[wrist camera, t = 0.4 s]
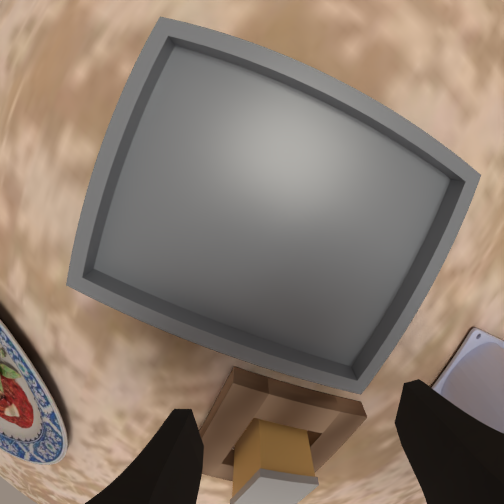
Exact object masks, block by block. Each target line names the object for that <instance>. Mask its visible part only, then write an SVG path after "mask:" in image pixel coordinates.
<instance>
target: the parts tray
mask: <svg viewBox="0 0 504 504" xmlns="http://www.w3.org/2000/svg"><path fill="white" fill-rule="evenodd" d="M480 177H481V175H480V174H479V173H478V172H477V171H476V170H474V169H473V168H472V167H471V166H470V165H468V164H467V163H466V162H465V161H463V160H462V159H461V158H460V157H458V156H457V155H456V154H455V153H453V152H452V151H451V150H449V149H448V148H447V147H445V146H444V145H443V144H441V143H440V142H439V141H437V140H436V139H434V138H433V137H432V136H430V135H429V134H427V133H426V132H425V131H423V130H422V129H420V128H419V127H417V126H416V125H414V124H413V123H411V122H410V121H408V120H407V119H405V118H404V117H402V116H401V115H399V114H397V113H396V112H394V111H393V110H391V109H389V108H388V107H386V106H384V105H383V104H381V103H379V102H378V101H376V100H374V99H372V98H371V97H369V96H367V95H365V94H364V93H362V92H360V91H358V90H356V89H355V88H353V87H351V86H349V85H347V84H345V83H343V82H341V81H339V80H337V79H335V78H333V77H331V76H329V75H327V74H325V73H323V72H321V71H319V70H317V69H315V68H313V67H310V66H308V65H306V64H304V63H302V62H299V61H297V60H295V59H292V58H290V57H288V56H285V55H283V54H280V53H278V52H275V51H273V50H270V49H268V48H265V47H262V46H260V45H257V44H254V43H251V42H249V41H246V40H243V39H240V38H237V37H234V36H231V35H228V34H225V33H221V32H218V31H215V30H211V29H208V28H204V27H201V26H197V25H193V24H189V23H185V22H181V21H177V20H173V19H168V18H164V17H160V18H159V20H158V21H157V23H156V25H155V27H154V28H153V30H152V32H151V34H150V36H149V38H148V40H147V41H146V43H145V45H144V47H143V49H142V51H141V53H140V55H139V57H138V59H137V61H136V63H135V65H134V67H133V69H132V72H131V74H130V76H129V78H128V80H127V82H126V85H125V87H124V89H123V91H122V94H121V96H120V98H119V101H118V103H117V106H116V108H115V110H114V113H113V116H112V118H111V121H110V123H109V126H108V128H107V131H106V134H105V137H104V139H103V142H102V145H101V148H100V151H99V154H98V157H97V160H96V163H95V166H94V169H93V172H92V176H91V179H90V182H89V186H88V189H87V193H86V196H85V200H84V204H83V207H82V211H81V215H80V219H79V223H78V228H77V232H76V236H75V241H74V245H73V250H72V255H71V260H70V266H69V271H68V277H67V283H66V285H67V286H69V287H71V288H73V289H75V290H77V291H79V292H81V293H83V294H85V295H87V296H89V297H91V298H93V299H95V300H97V301H99V302H101V303H103V304H105V305H107V306H109V307H111V308H114V309H116V310H118V311H120V312H122V313H124V314H127V315H129V316H131V317H133V318H136V319H138V320H140V321H142V322H145V323H147V324H149V325H152V326H154V327H156V328H159V329H161V330H163V331H166V332H168V333H171V334H173V335H176V336H178V337H181V338H183V339H186V340H188V341H191V342H193V343H196V344H199V345H201V346H204V347H207V348H209V349H212V350H215V351H217V352H220V353H223V354H226V355H228V356H231V357H234V358H237V359H240V360H243V361H246V362H249V363H252V364H255V365H258V366H261V367H264V368H267V369H270V370H273V371H277V372H280V373H283V374H286V375H290V376H293V377H297V378H300V379H303V380H307V381H311V382H314V383H318V384H321V385H325V386H329V387H333V388H337V389H341V390H345V391H349V392H353V393H357V394H362V393H363V391H364V390H365V389H366V387H367V386H368V385H369V383H370V382H371V381H372V379H373V378H374V376H375V375H376V374H377V372H378V371H379V370H380V368H381V367H382V365H383V364H384V362H385V361H386V359H387V358H388V357H389V355H390V354H391V352H392V351H393V349H394V348H395V346H396V345H397V343H398V342H399V340H400V338H401V337H402V335H403V334H404V332H405V331H406V329H407V327H408V326H409V324H410V323H411V321H412V319H413V318H414V316H415V314H416V313H417V311H418V309H419V307H420V306H421V304H422V302H423V301H424V299H425V297H426V295H427V293H428V292H429V290H430V288H431V286H432V284H433V282H434V281H435V279H436V277H437V275H438V273H439V271H440V269H441V267H442V265H443V263H444V261H445V259H446V257H447V255H448V253H449V251H450V249H451V247H452V245H453V243H454V240H455V238H456V236H457V234H458V232H459V229H460V227H461V225H462V222H463V220H464V218H465V215H466V213H467V211H468V208H469V206H470V203H471V201H472V198H473V196H474V193H475V190H476V188H477V185H478V182H479V180H480Z"/></svg>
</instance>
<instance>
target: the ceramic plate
mask: <svg viewBox="0 0 504 504" xmlns="http://www.w3.org/2000/svg"><path fill="white" fill-rule="evenodd" d="M67 448H68V438H67V432H66V428H65V425H64V422H63V419H62V417H61V414H60V412H59V410H58V407H57V405H56V403H55V401H54V399H53V397H52V396H51V394H50V392H49V390H48V388H47V387H46V385H45V383H44V382H43V380H42V378H41V377H40V375H39V373H38V372H37V370H36V369H35V367H34V366H33V364H32V363H31V361H30V360H29V358H28V356H27V355H26V354H25V352H24V351H23V349H22V348H21V347H20V345H19V344H18V342H17V341H16V340H15V338H14V337H13V335H12V334H11V333H10V331H9V330H8V329H7V327H6V326H5V325H4V323H3V322H2V321H1V320H0V449H2V450H3V451H5V452H7V453H9V454H11V455H13V456H15V457H17V458H19V459H22V460H25V461H28V462H31V463H34V464H41V465H50V464H55V463H58V462H59V461H61V460H62V459H63V458H64V456H65V454H66V451H67Z"/></svg>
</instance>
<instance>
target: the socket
mask: <svg viewBox="0 0 504 504" xmlns="http://www.w3.org/2000/svg"><path fill="white" fill-rule="evenodd" d="M253 418H257V419H261V420H265V421H269V422H273V423H277V424H281V425H285V426H290V427H294V428H299V429H304V430H308V431H307V434H308V440H309V445H310V450H311V456H312V461H313V467H314V473H315V472H316V471H317V470H318V469H319V468H320V467H321V466H322V465H323V464H324V463H325V462H326V461H327V460H328V459H329V458H330V457H331V456H332V455H333V454H334V453H335V452H336V451H337V450H338V449H339V448H340V447H341V446H342V445H343V444H344V443H345V442H346V441H347V439H348V438H349V437H350V436H351V435H352V434H353V433H354V432H355V431H356V429H357V428H358V427H359V426H360V425H361V424H362V423H363V421H364V420H365V419H366V418H367V415H366V413H365V410H364V408H363V405H362V403H361V402H359V401H355V400H350V399H346V398H342V397H337V396H333V395H329V394H325V393H321V392H318V391H314V390H310V389H306V388H303V387H299V386H295V385H292V384H288V383H285V382H282V381H278V380H275V379H272V378H268V377H265V376H262V375H259V374H256V373H252V372H249V371H246V370H243V369H240V368H237V367H234V368H233V370H232V371H231V373H230V375H229V377H228V379H227V381H226V383H225V385H224V387H223V389H222V390H221V392H220V394H219V396H218V398H217V400H216V402H215V403H214V405H213V407H212V409H211V411H210V413H209V415H208V416H207V418H206V420H205V422H204V424H203V426H202V427H201V429H200V431H199V433H200V436H201V439H202V442H203V445H204V454H203V469H202V474H205V475H209V476H212V477H216V478H221V479H225V480H229V481H233V470H234V451H233V450H231V449H232V448H233V447H234V445H235V444H236V442H237V441H238V439H239V438H240V437H241V435H242V434H243V432H244V431H245V429H246V428H247V426H248V425H249V424H250V422H251V421H252V419H253Z"/></svg>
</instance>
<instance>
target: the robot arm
mask: <svg viewBox="0 0 504 504" xmlns="http://www.w3.org/2000/svg"><path fill="white" fill-rule="evenodd" d="M395 425H396V428H397V432H398V435H399V438H400V441H401V444H402V447H403V449H404V451H405V453H406V456H407V458H408V460H409V462H410V464H411V466H412V469H413V471H414V473H415V475H416V477H417V479H418V482H419V484H420V486H421V488H422V491H423V493H424V496H425V498H426V502H427V504H504V341H503V340H501V339H499V338H497V337H495V336H493V335H491V334H488V333H486V332H484V331H482V330H480V329H478V328H473V329H472V330H471V331H470V332H469V334H468V336H467V337H466V339H465V340H464V342H463V344H462V345H461V347H460V348H459V350H458V351H457V353H456V354H455V356H454V357H453V359H452V360H451V362H450V363H449V364H448V366H447V367H446V369H445V370H444V371H443V373H442V374H441V376H440V377H439V378H438V380H437V381H436V382H435V384H434V385H433V386H432V388H431V387H429V386H428V385H426V384H425V383H424V382H422V381H421V380H415V381H411V382H407V383H404V386H403V390H402V395H401V399H400V403H399V407H398V412H397V416H396V419H395ZM203 454H204V445H203V442H202V439H201V436H200V433H199V430H198V427H197V424H196V421H195V418H194V415H193V412H192V409H174V410H173V411H172V412H171V413H170V415H169V416H168V418H167V419H166V420H165V422H164V423H163V425H162V426H161V427H160V429H159V430H158V431H157V433H156V434H155V435H154V437H153V438H152V439H151V440H150V442H149V443H148V444H147V445H146V447H145V448H144V449H143V450H142V452H141V453H140V454H139V455H138V456H137V457H136V458H135V460H134V461H133V462H132V463H131V464H130V465H129V466H128V467H127V468H126V469H125V470H124V471H123V472H122V473H121V474H120V475H119V476H118V477H117V478H116V479H115V480H114V481H113V482H112V483H111V484H110V485H108V486H107V487H106V488H105V489H104V490H102V491H101V492H100V493H99V494H97V495H96V496H95V497H93V498H92V499H91V500H89V501H88V502H86V503H85V504H196V500H197V495H198V491H199V486H200V480H201V475H202V469H203Z"/></svg>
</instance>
